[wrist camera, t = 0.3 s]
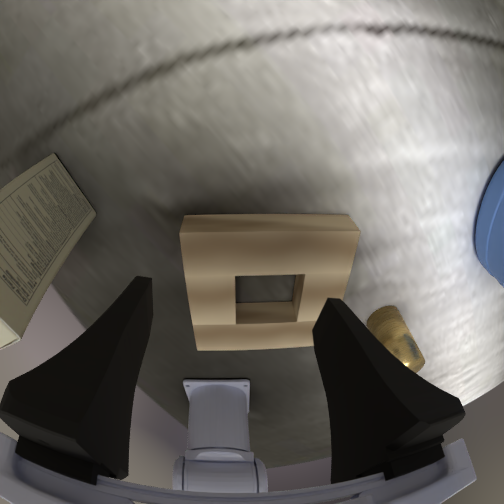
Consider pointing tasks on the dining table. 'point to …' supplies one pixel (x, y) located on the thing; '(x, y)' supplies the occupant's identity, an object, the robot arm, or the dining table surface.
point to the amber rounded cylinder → (396, 336)
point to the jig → (263, 263)
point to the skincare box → (36, 239)
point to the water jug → (492, 227)
